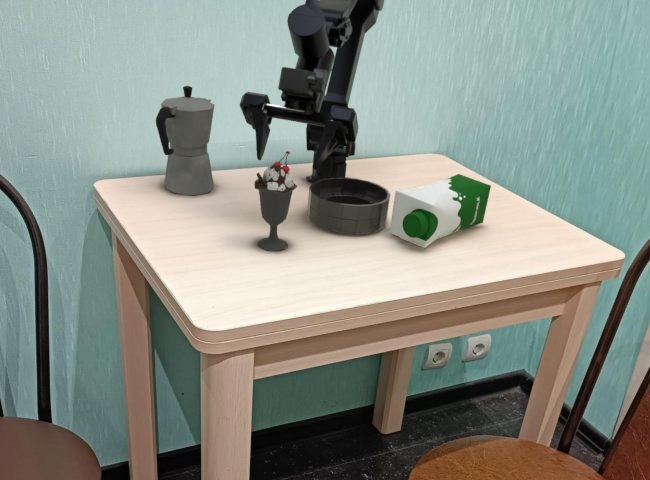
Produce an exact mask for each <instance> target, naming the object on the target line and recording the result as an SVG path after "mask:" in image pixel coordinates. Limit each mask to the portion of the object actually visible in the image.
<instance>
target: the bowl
mask: <svg viewBox="0 0 650 480" xmlns="http://www.w3.org/2000/svg"><path fill="white" fill-rule="evenodd" d="M390 203H391V193H390V192H389V190H388V189H387V188H385V187H384V186H382V185H380V184H378V183H375V182H373V181H370V180H367V179H366V180H365V179H362V178H361V179H360V178H356V177H355V178H354V177H346V176H345V177H334V178H325V179H320V180H317V181H315V182H313V183H312V182H311V183H310V186H309V188H308V201H307V209H306V211H307V213H306V215H307V217H308V220H309V221H310V222H311V223H312V224H314V225H315V226H316V227H319V228H322V229H324V230H326V231H331V232H335V233H339V234H347V235H348V234H349V235H361V234H362V235H363V234H364V235H365V234H371V233H376V232H379V231H381V230H382V229H384V228H386V226H387V222H388V217H389V216H388V215H389V209H390Z"/></svg>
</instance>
